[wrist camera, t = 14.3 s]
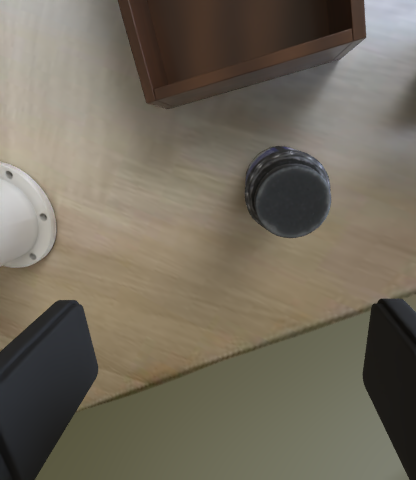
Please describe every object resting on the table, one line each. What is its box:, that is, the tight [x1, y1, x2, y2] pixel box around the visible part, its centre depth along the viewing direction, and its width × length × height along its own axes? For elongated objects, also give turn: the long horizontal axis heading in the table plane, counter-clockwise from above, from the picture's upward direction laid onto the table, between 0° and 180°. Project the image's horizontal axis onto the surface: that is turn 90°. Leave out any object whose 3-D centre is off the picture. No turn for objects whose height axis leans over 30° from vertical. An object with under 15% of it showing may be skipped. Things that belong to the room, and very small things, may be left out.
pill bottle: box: [245, 146, 331, 238], centre depth 23 cm, size 6×6×11 cm
